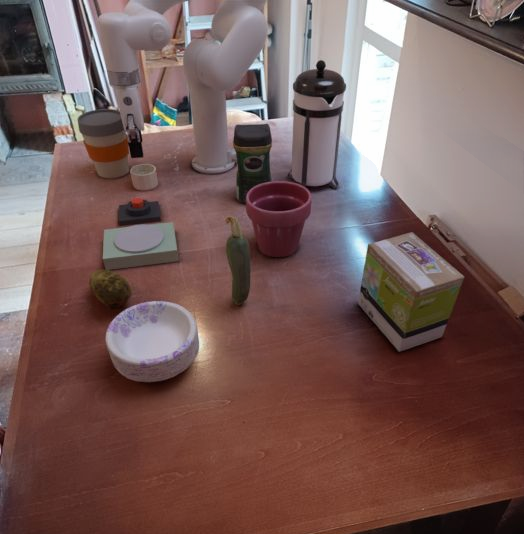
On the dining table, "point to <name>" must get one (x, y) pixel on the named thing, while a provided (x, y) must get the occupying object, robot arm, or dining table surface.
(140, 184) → the bowl
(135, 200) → the tare button
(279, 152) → the dining table surface
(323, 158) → the coffee press
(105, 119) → the reusable coffee cup
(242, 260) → the vegetable
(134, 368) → the paper bowls
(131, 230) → the scale
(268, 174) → the coffee jar
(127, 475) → the dining table surface
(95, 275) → the potato
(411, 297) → the tea box
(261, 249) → the flower pot
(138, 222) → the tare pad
